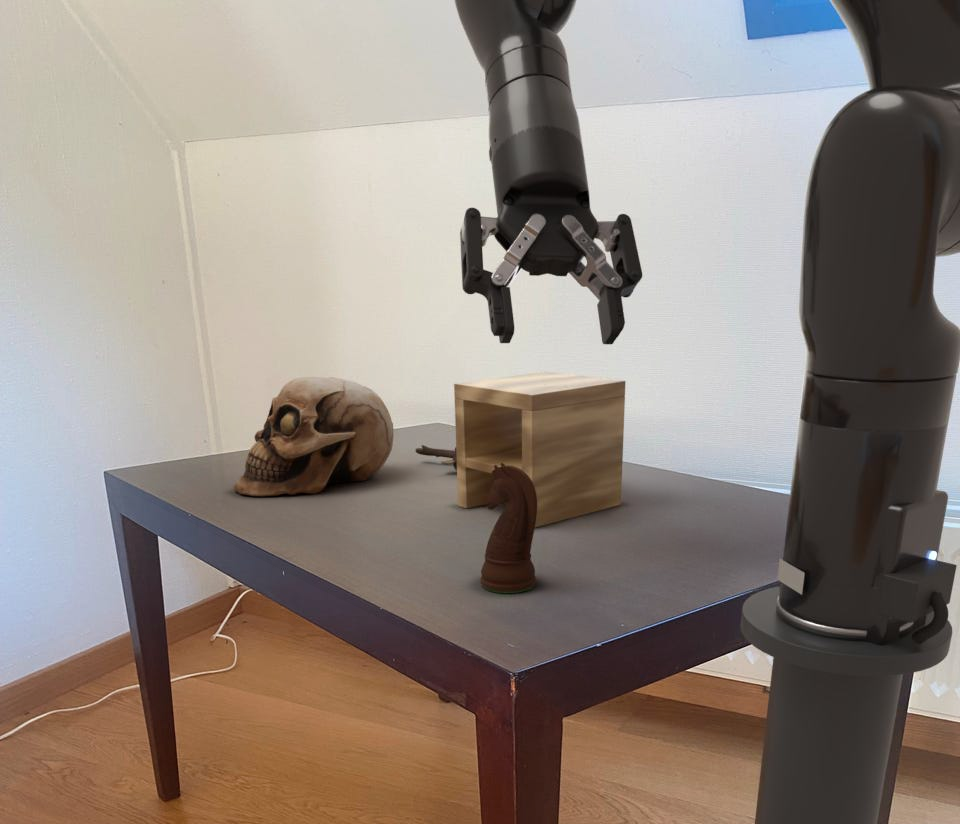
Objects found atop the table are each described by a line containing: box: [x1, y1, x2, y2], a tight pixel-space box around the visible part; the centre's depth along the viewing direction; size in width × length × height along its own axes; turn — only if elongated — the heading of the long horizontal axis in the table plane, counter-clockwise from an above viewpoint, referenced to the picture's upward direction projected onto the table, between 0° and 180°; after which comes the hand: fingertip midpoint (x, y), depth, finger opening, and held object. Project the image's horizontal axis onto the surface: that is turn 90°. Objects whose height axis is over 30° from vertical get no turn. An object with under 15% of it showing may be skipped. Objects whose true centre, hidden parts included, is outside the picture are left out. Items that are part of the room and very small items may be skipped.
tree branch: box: [415, 444, 457, 472], centre depth 118 cm, size 18×4×14 cm
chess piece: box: [480, 463, 537, 594], centre depth 74 cm, size 5×5×10 cm
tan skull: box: [233, 376, 394, 497], centre depth 110 cm, size 16×17×13 cm
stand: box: [453, 371, 626, 528], centre depth 97 cm, size 12×13×13 cm
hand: (560, 339), depth 72 cm, fingers open, 8 cm apart
